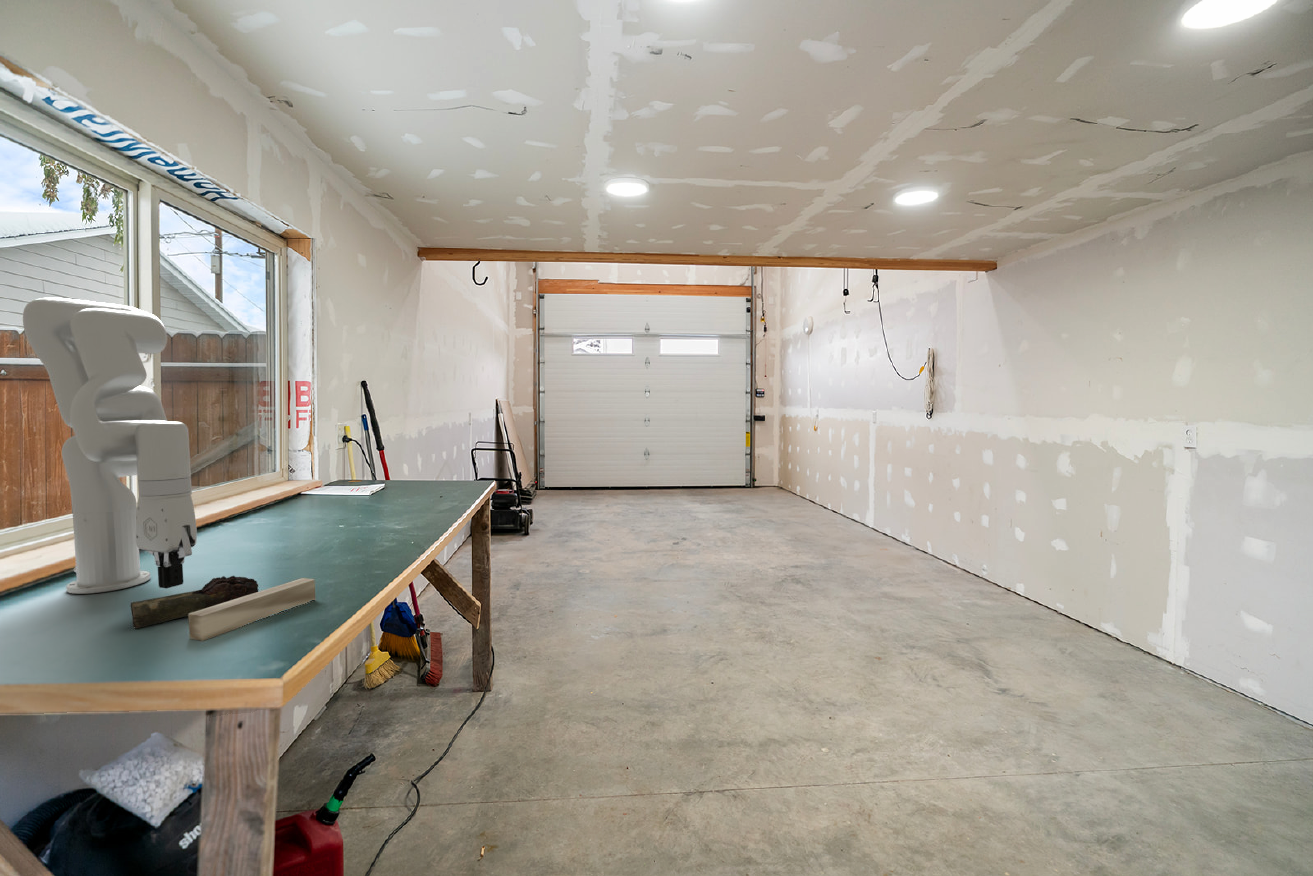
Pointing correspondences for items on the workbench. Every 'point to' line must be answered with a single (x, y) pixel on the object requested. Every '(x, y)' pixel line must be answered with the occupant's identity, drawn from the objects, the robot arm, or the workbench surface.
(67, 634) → the workbench surface
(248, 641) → the workbench surface
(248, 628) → the workbench surface
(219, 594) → the brown long lumpy piece
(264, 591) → the bar
